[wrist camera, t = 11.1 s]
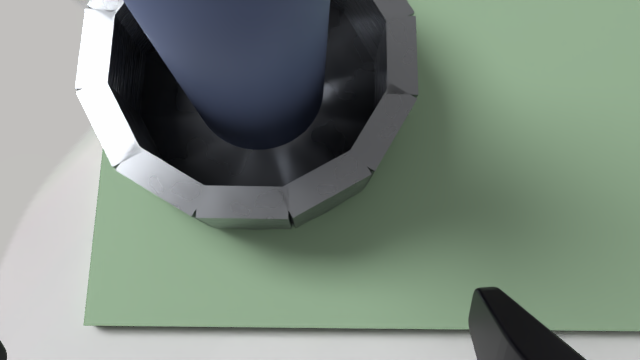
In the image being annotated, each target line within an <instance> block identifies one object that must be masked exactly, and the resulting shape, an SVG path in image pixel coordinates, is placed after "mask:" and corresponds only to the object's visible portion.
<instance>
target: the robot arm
mask: <svg viewBox="0 0 640 360" xmlns="http://www.w3.org/2000/svg"><path fill="white" fill-rule="evenodd" d="M468 324H469V330H470V334H471V338H472V341H473V345H474V349H475V353H476V356H477V360H586V359H585V358H584V357H582V356H581V355H580V354H579V353H577V352H576V351H575V350H574V349H573V348H571V347H570V346H569V345H568V344H567V343H565V342H564V341H563V340H562V339H560V338H559V337H558V336H557V335H556V334H554V333H553V332H552V331H551V330H550V329H548V328H547V327H546V326H545V325H543V324H542V323H541V322H540V321H539V320H537V319H536V318H535V317H534V316H533V315H531V314H530V313H529V312H528V311H526V310H525V309H524V308H523V307H522V306H520V305H519V304H518V303H517V302H516V301H514V300H513V299H512V298H511V297H509V296H508V295H507V294H506V293H505V292H503V291H502V290H501V289H500V288H497V287H480V288H476V289H475V290H474V293H473V297H472V302H471V306H470V311H469V317H468ZM0 360H7V353H6V349H5V348H4V346H3V344H2V343H1V341H0Z"/></svg>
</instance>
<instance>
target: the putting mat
mask: <svg viewBox="0 0 640 360" xmlns="http://www.w3.org/2000/svg"><path fill="white" fill-rule="evenodd" d="M407 1H408V3H409V4H410V6H411V7H412V9H413V10H414V12H415V13H414V15H413V16H416V35H417V66H418V96H417V100H416V102H415V104H414V105H413V107H412V109H411V110H410V112H409V114H408V116H407V117H406V119H405V121H404V122H403V124H402V126H401V128H400V129H399V131H398V133H397V134H396V136H395V138H394V140H393V141H392V143H391V145H390V146H389V148H388V150H387V152H386V153H385V155H384V157H383V158H382V160H381V162H380V164H379V165H378V167H377V169H376V170H375V172H374V174H373V175H372V177H371V179H370V180H369V182H368V184H367V185H366V187H365V189H363V190H362V192H360V193H358V194H357V195H355V196H353V197H351V198H349V199H348V200H346V201H344V202H343V203H341V204H340V205H338V206H337V207H335V208H334V209H332V210H330V211H329V212H327V213H325V214H323V215H321V216H318V217H316V218H314V219H312V220H310V221H308V222H306V223H304V224H303V225H301V226H299V227H297V228H295V226H292V229H268V230H247V229H236V228H214V227H210V226H208V225H206V224H205V223H203V222H201V221H199V220H197V219H195V218H193V217H191V216H190V215H188V214H186V213H185V212H183V211H181V210H180V209H178V208H176V207H175V206H173V205H172V204H170V203H168V202H167V201H165V200H163V199H162V198H160V197H158V196H157V195H155V194H154V193H152V192H150V191H149V190H147V189H145V188H144V187H142V186H140V185H139V184H137V183H135V182H134V181H132V180H131V179H129V178H127V177H126V176H124V175H122V174H121V173H119V172H117V171H116V169H115V168H113V167H112V165H111V163H110V161H109V159H108V157H107V155H106V153H105V151H104V149H103V152H102V161H101V170H100V180H99V189H98V198H97V207H96V216H95V225H94V234H93V243H92V253H91V262H90V271H89V280H88V289H87V298H86V307H85V316H84V325H83V326H178V327H275V328H372V329H469V324H468V317H469V311H470V306H471V302H472V297H473V293H474V290H475V289H476V288H480V287H497V288H500V289H501V290H502V291H503V292H505V293H506V294H507V295H508V296H509V297H511V298H512V299H513V300H514V301H516V302H517V303H518V304H519V305H520V306H522V307H523V308H524V309H525V310H526V311H528V312H529V313H530V314H531V315H533V316H534V317H535V318H536V319H537V320H539V321H540V322H541V323H542V324H543V325H545V326H546V327H547V328H548V329H550V330H566V331H640V0H407Z"/></svg>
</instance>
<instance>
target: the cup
mask: <svg viewBox="0 0 640 360" xmlns="http://www.w3.org/2000/svg"><path fill="white" fill-rule="evenodd" d="M87 6H88V7H89V9H85V14H84V22H83V29H82V37H81V45H80V53H79V62H78V69H77V77H76V85H75V88H76V89H77V90H78V91H77V92H76V94H77V96H78V98H79V100H80V102H81V104H82V106H83V108H84V110H85V112H86V114H87V116H88V118H89V120H90V122H91V124H92V126H93V128H94V130H95V133H96V135H97V137H98V139H99V141H100V143H101V145H102V147H103V149H104V151H105V153H106V155H107V157H108V159H109V161H110V163H111V165H112V167H113V168H115V169H116V171H117V172H119V173H121V174H122V175H124V176H126V177H127V178H129V179H131V180H132V181H134V182H135V183H137V184H139V185H140V186H142V187H144V188H145V189H147V190H149V191H150V192H152V193H154V194H155V195H157V196H158V197H160V198H162V199H163V200H165V201H167V202H168V203H170V204H172V205H173V206H175V207H176V208H178V209H180V210H181V211H183V212H185V213H186V214H188V215H190V216H191V217H193V218H195V219H197V220H199V221H201V222H203V223H205V224H206V225H208V226H210V227H214V228H236V229H247V230H268V229H292V226H295V228H297V227H299V226H301V225H303V224H304V223H306V222H308V221H310V220H312V219H314V218H316V217H318V216H321V215H323V214H325V213H327V212H329V211H330V210H332V209H334V208H335V207H337V206H338V205H340V204H341V203H343V202H344V201H346V200H348V199H349V198H351V197H353V196H355V195H357V194H358V193H360V192H362V190H363V189H365V187H366V185H367V184H368V182H369V180H370V179H371V177H372V175H373V174H374V172H375V170H376V169H377V167H378V165H379V164H380V162H381V160H382V158H383V157H384V155H385V153H386V152H387V150H388V148H389V146H390V145H391V143H392V141H393V140H394V138H395V136H396V134H397V133H398V131H399V129H400V128H401V126H402V124H403V122H404V121H405V119H406V117H407V116H408V114H409V112H410V110H411V109H412V107H413V105H414V104H415V102H416V100H417V96H418V66H417V35H416V16H413V15H414V13H415V12H414V10H413V9H412V7H411V6H410V4H409V3H408V1H407V0H330V10H329V23H328V37H327V51H326V64H325V78H324V91H323V99H322V104H321V107H320V110H319V112H318V114H317V116H316V118H315V120H314V121H313V122H312V124H311V125H310V126H309V127H308V129H307V130H306V131H305V132H304V133H302V134H301V135H300V136H299V137H297V138H296V139H294V140H293V141H291V142H289V143H287V144H285V145H282V146H279V147H276V148H271V149H265V150H252V149H245V148H240V147H237V146H234V145H232V144H230V143H228V142H226V141H224V140H222V139H221V138H219V137H218V136H217V135H216V134H214V133H213V132H212V131H211V130H210V129H209V127H208V126H207V125H206V124H205V122H204V121H203V119H202V118H201V116H200V115H199V113H198V112H197V110H196V109H195V107H194V106H193V104H192V103H191V101H190V100H189V98H188V97H187V95H186V94H185V92H184V91H183V89H182V88H181V86H180V85H179V83H178V82H177V80H176V79H175V77H174V76H173V74H172V73H171V71H170V70H169V68H168V67H167V65H166V64H165V62H164V61H163V59H162V58H161V56H160V55H159V53H158V52H157V50H156V49H155V47H154V46H153V44H152V43H151V41H150V40H149V38H148V37H147V36H146V34H145V33H144V31H143V30H142V28H141V27H140V25H139V24H138V22H137V21H136V19H135V18H134V16H133V15H132V13H131V12H130V10H129V9H128V7H127V6H126V4H125V3H124V1H123V0H90V1H89V3H88V4H87Z"/></svg>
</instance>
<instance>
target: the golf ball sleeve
mask: <svg viewBox="0 0 640 360" xmlns="http://www.w3.org/2000/svg"><path fill="white" fill-rule="evenodd" d="M123 1H124V3H125V4H126V6H127V7H128V9H129V10H130V12H131V13H132V15H133V16H134V18H135V19H136V21H137V22H138V24H139V25H140V27H141V28H142V30H143V31H144V33H145V34H146V36H147V37H148V38H149V40H150V41H151V43H152V44H153V46H154V47H155V49H156V50H157V52H158V53H159V55H160V56H161V58H162V59H163V61H164V62H165V64H166V65H167V67H168V68H169V70H170V71H171V73H172V74H173V76H174V77H175V79H176V80H177V82H178V83H179V85H180V86H181V88H182V89H183V91H184V92H185V94H186V95H187V97H188V98H189V100H190V101H191V103H192V104H193V106H194V107H195V109H196V110H197V112H198V113H199V115H200V116H201V118H202V119H203V121H204V122H205V124H206V125H207V126H208V127H209V129H210V130H211V131H212V132H213V133H214V134H216V135H217V136H218V137H219V138H221V139H222V140H224V141H226V142H228V143H230V144H232V145H234V146H237V147H240V148H245V149H252V150H265V149H271V148H276V147H279V146H282V145H285V144H287V143H289V142H291V141H293V140H294V139H296V138H297V137H299V136H300V135H301V134H302V133H304V132H305V131H306V130H307V129H308V127H309V126H310V125H311V124H312V122H313V121H314V120H315V118H316V116H317V114H318V112H319V110H320V107H321V104H322V99H323V91H324V78H325V64H326V51H327V37H328V23H329V10H330V0H123Z"/></svg>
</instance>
